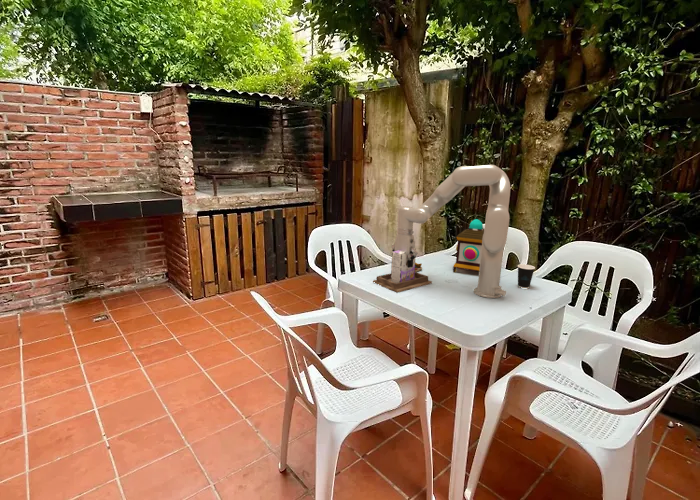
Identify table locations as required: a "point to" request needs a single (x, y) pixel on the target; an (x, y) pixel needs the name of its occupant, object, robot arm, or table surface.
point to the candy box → (401, 267)
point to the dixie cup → (525, 275)
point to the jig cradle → (402, 286)
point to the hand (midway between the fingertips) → (403, 264)
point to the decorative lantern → (469, 247)
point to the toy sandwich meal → (418, 267)
